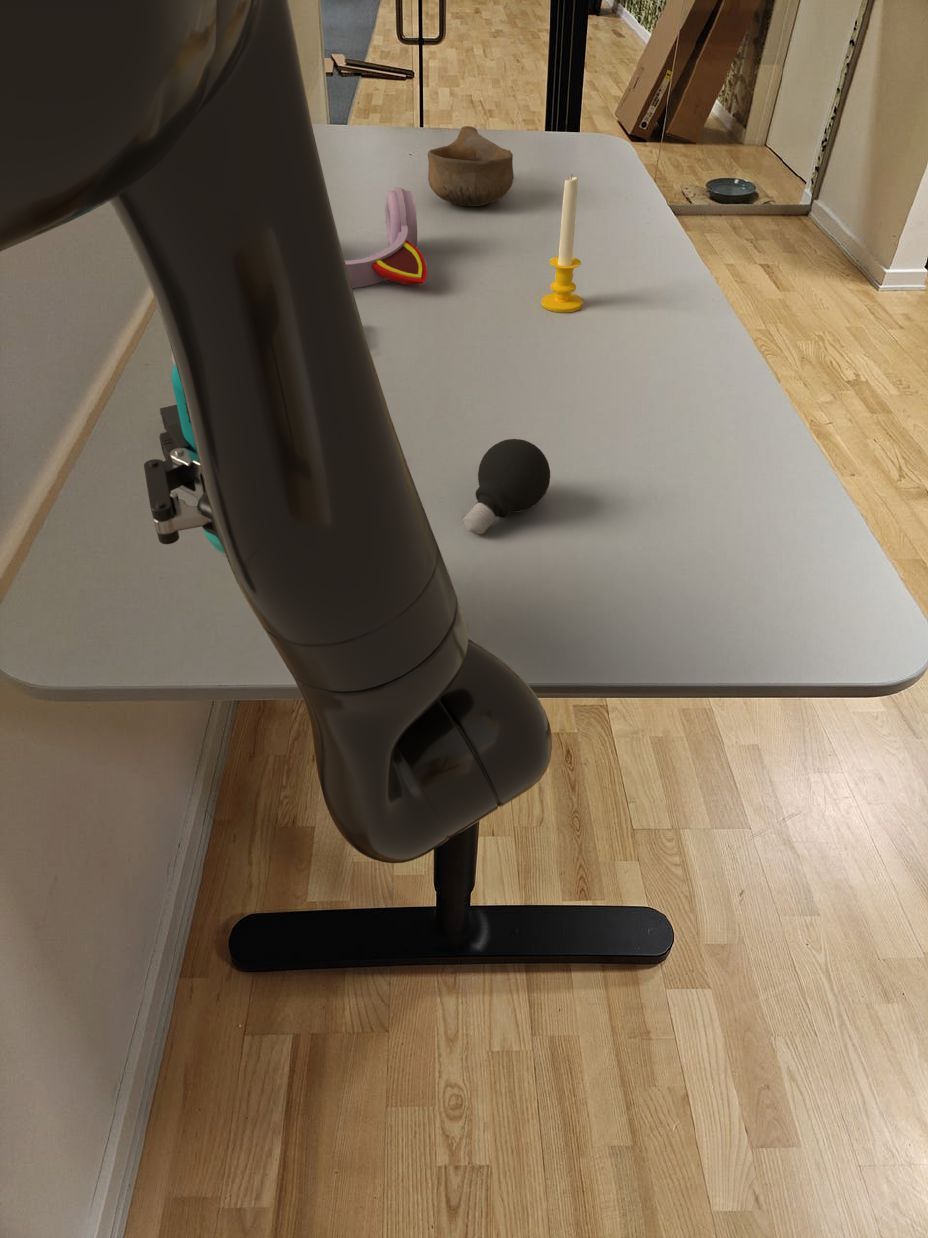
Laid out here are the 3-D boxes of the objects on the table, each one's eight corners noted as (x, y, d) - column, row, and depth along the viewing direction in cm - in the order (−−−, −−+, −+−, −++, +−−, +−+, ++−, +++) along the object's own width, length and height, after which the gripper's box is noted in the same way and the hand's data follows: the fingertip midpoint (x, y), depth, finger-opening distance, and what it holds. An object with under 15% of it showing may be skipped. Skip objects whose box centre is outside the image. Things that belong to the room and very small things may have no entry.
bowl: (405, 174, 151) (419, 108, 145) (483, 194, 156) (501, 130, 150) (427, 209, 138) (444, 137, 132) (512, 228, 143) (532, 161, 137)
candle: (534, 307, 115) (542, 176, 105) (550, 293, 119) (559, 164, 108) (573, 315, 113) (585, 182, 103) (588, 300, 117) (601, 170, 107)
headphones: (406, 181, 127) (430, 210, 111) (410, 255, 133) (433, 292, 117) (263, 189, 124) (267, 220, 108) (273, 264, 130) (278, 304, 114)
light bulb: (437, 493, 77) (504, 412, 80) (442, 530, 83) (504, 453, 86) (499, 531, 75) (566, 446, 78) (500, 566, 81) (562, 486, 84)
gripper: (417, 470, 52) (310, 353, 63) (166, 539, 47) (97, 398, 58) (419, 573, 57) (320, 447, 68) (192, 645, 52) (125, 497, 63)
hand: (218, 425), depth 63 cm, fingers closed on beverage can, 5 cm apart
